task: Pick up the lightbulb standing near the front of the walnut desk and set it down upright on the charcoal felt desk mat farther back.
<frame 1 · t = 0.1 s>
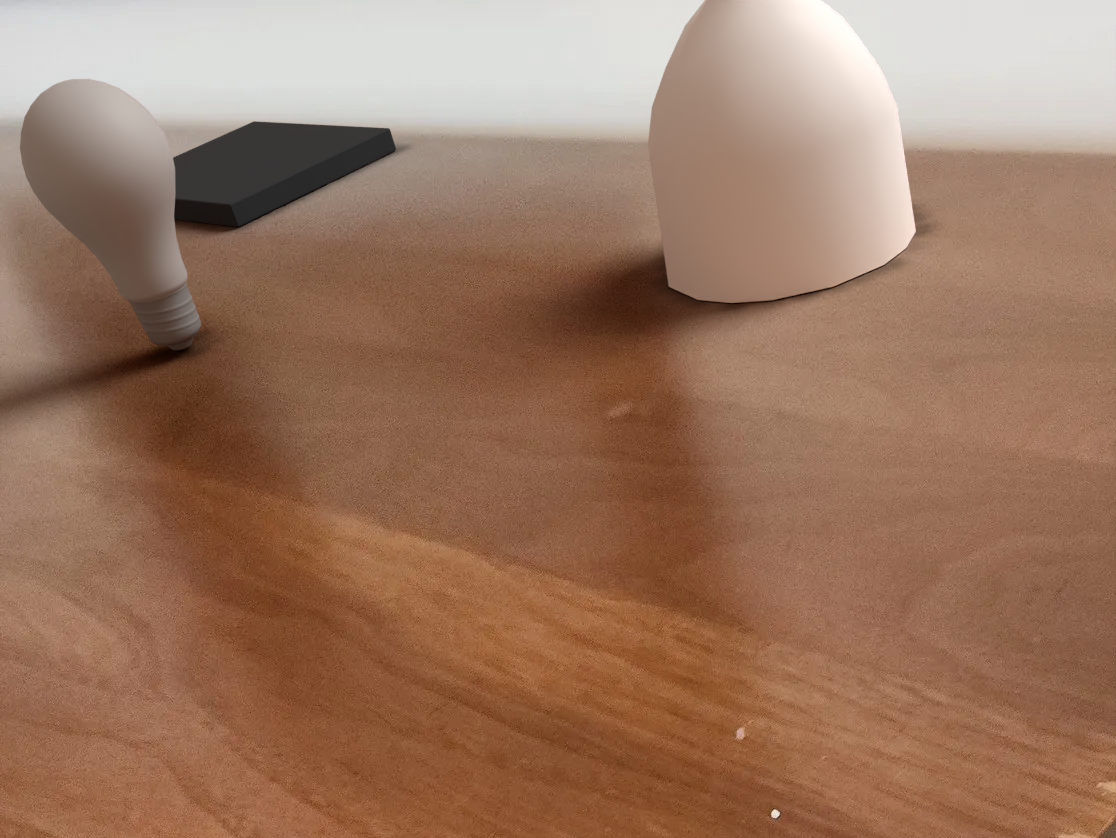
lightbulb: (185, 352, 68), on the table
teardrop: (789, 254, 62), on the table
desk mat: (251, 181, 87), on the table
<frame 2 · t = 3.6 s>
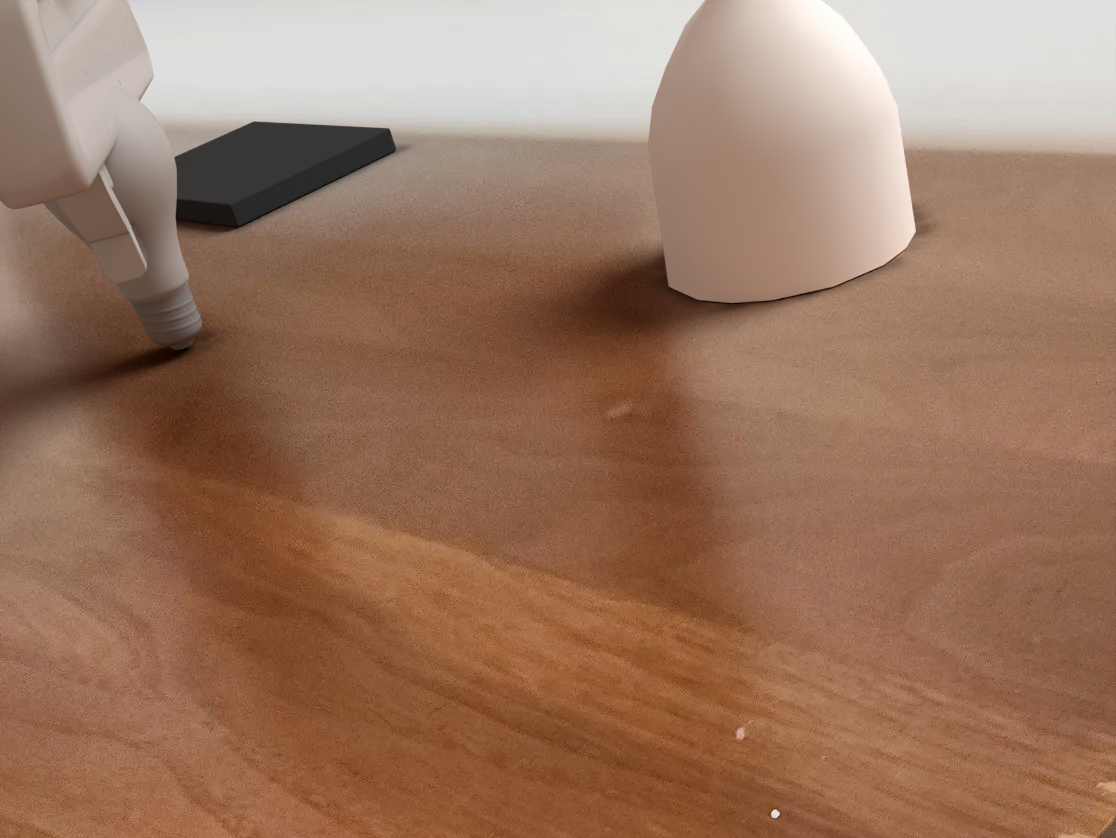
hand: (142, 253, 64), 4 cm above the table, tool pointing down, fingers closed on lightbulb, 5 cm apart
lightbulb: (185, 352, 68), on the table, touching gripper
everything else where it was.
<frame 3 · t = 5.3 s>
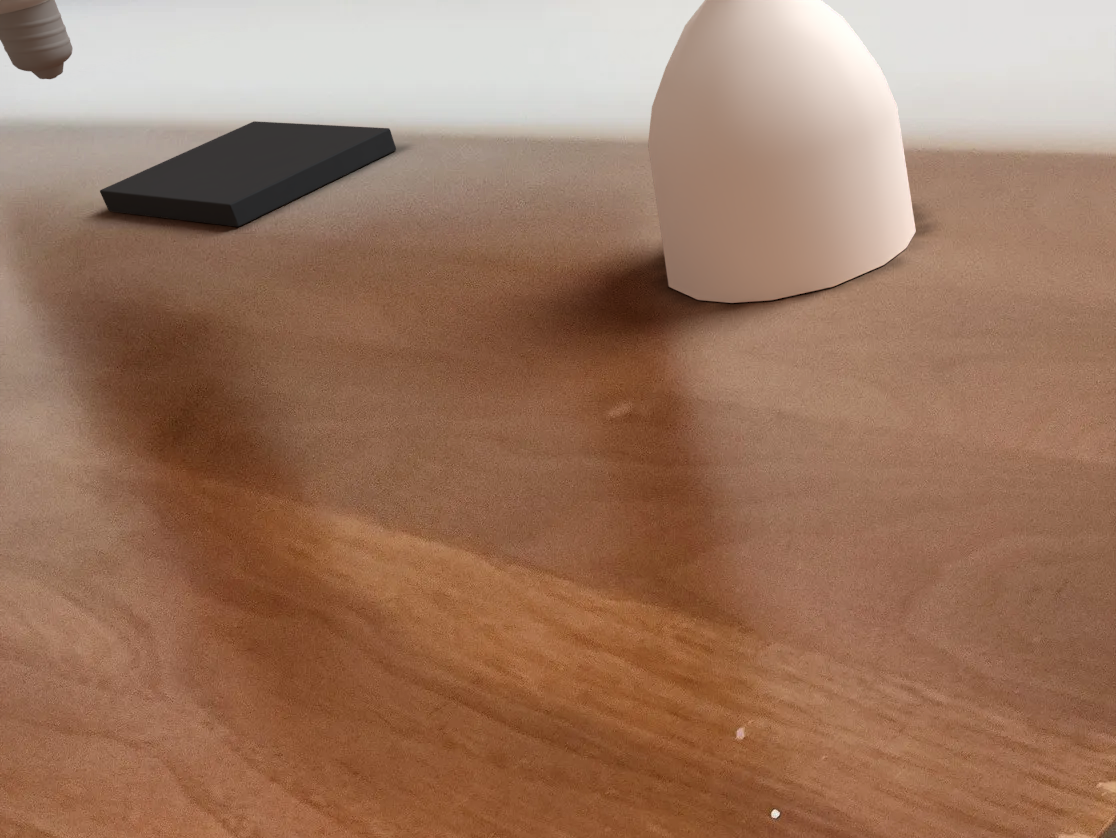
lightbulb: (54, 83, 60), point 11 cm above the table, touching gripper
everything else where it was.
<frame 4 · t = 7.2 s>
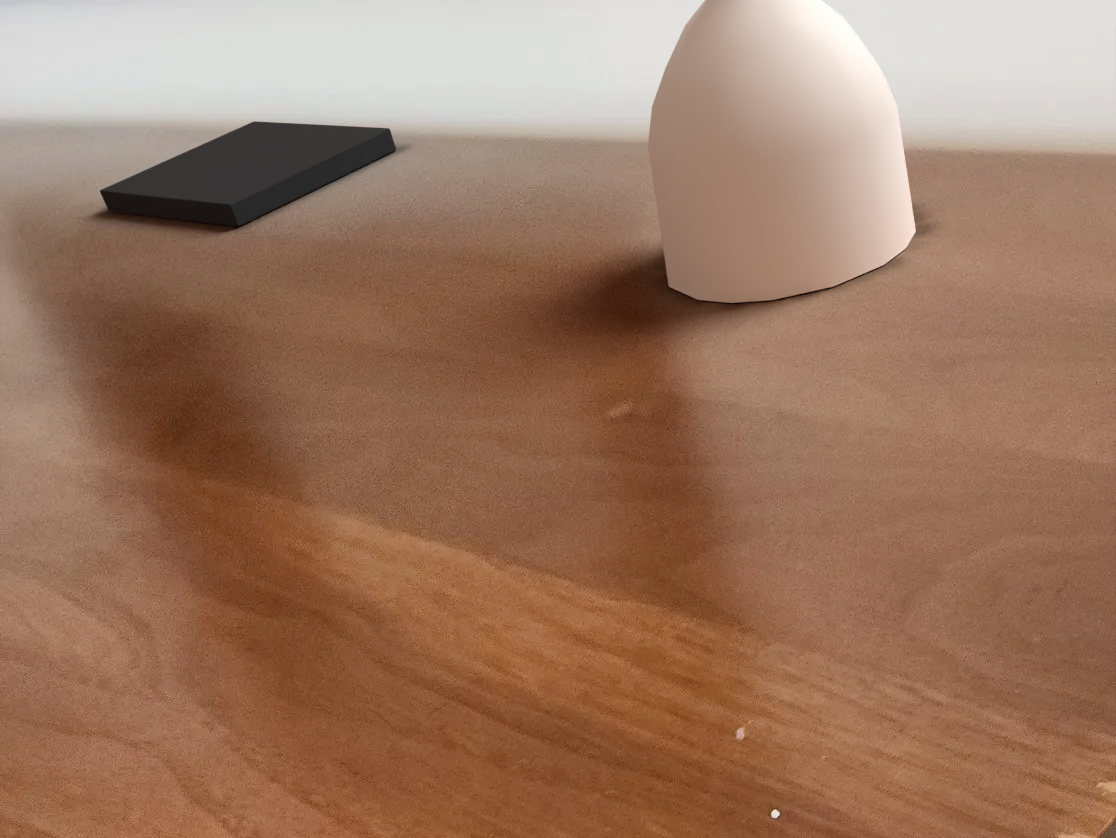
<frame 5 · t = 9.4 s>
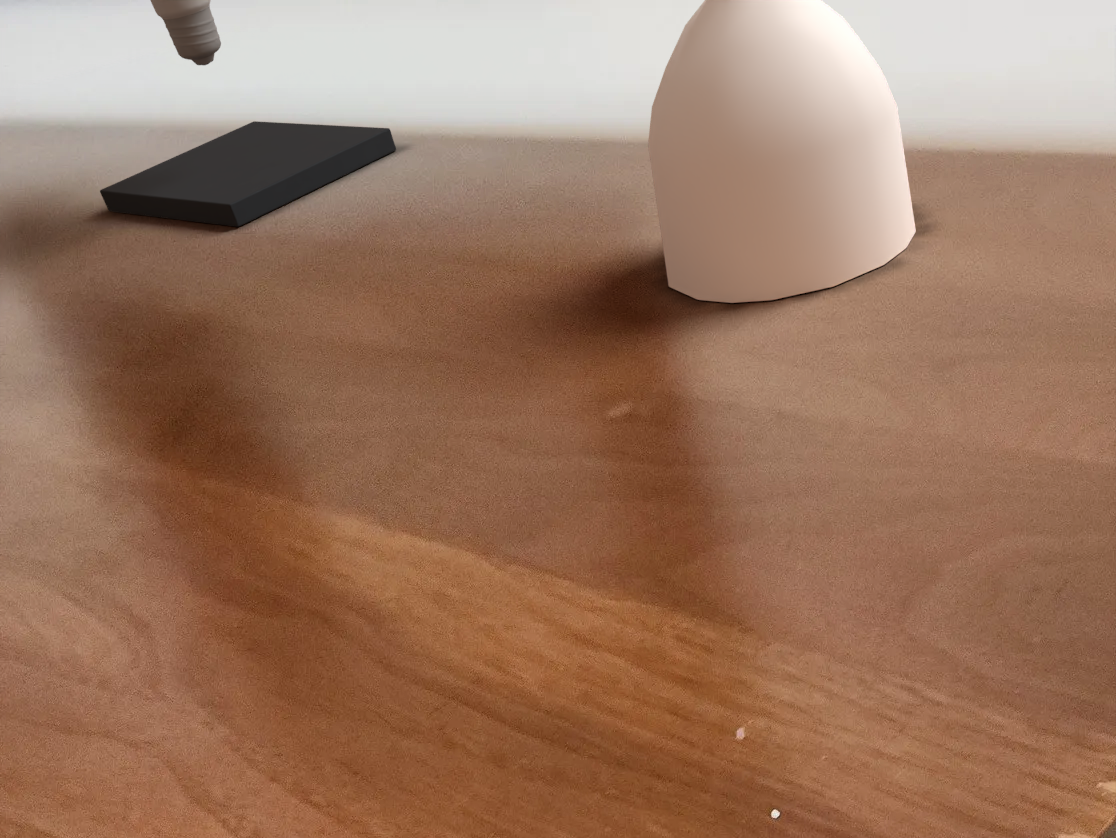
lightbulb: (207, 68, 83), point 6 cm above the table, touching gripper
everything else where it was.
when the fingers open (5 cm above the table, at t = 11.2 s): lightbulb stays where it is, resting on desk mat.
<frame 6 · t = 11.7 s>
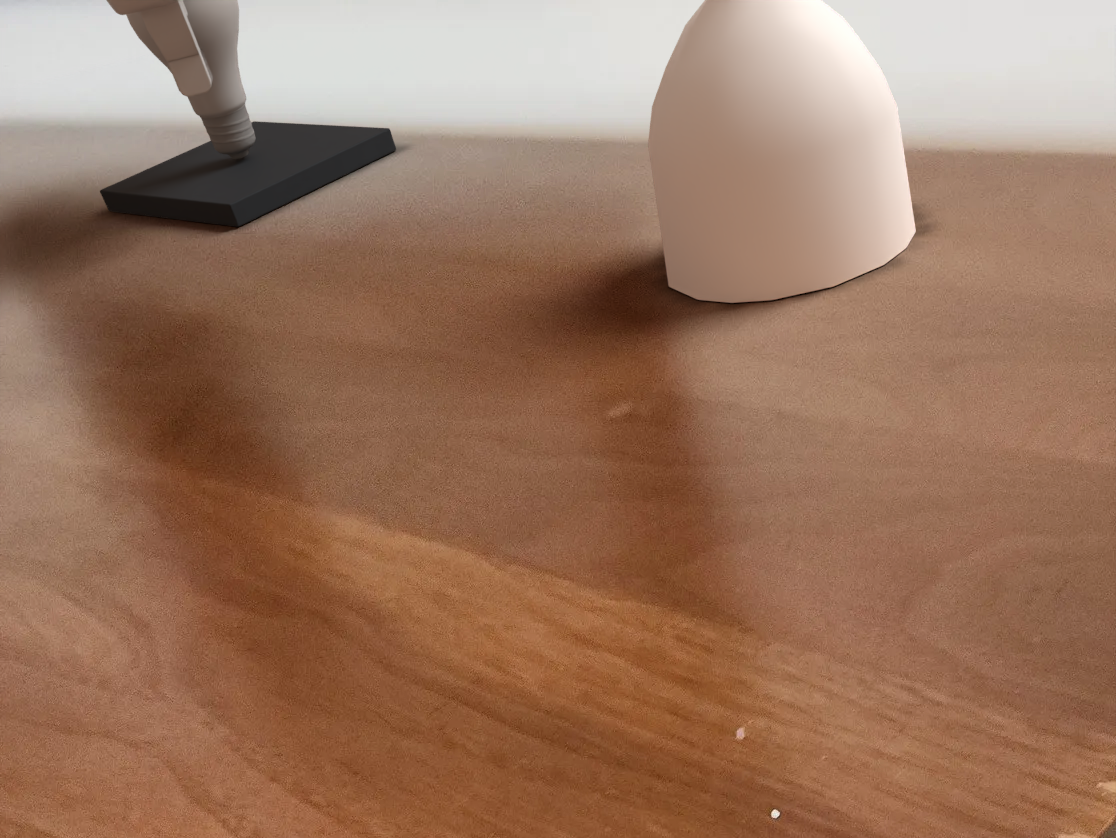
hand: (208, 72, 83), 6 cm above the table, tool pointing down, fingers open, 8 cm apart
lightbulb: (242, 161, 86), point 1 cm above the table, touching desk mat
everything else where it was.
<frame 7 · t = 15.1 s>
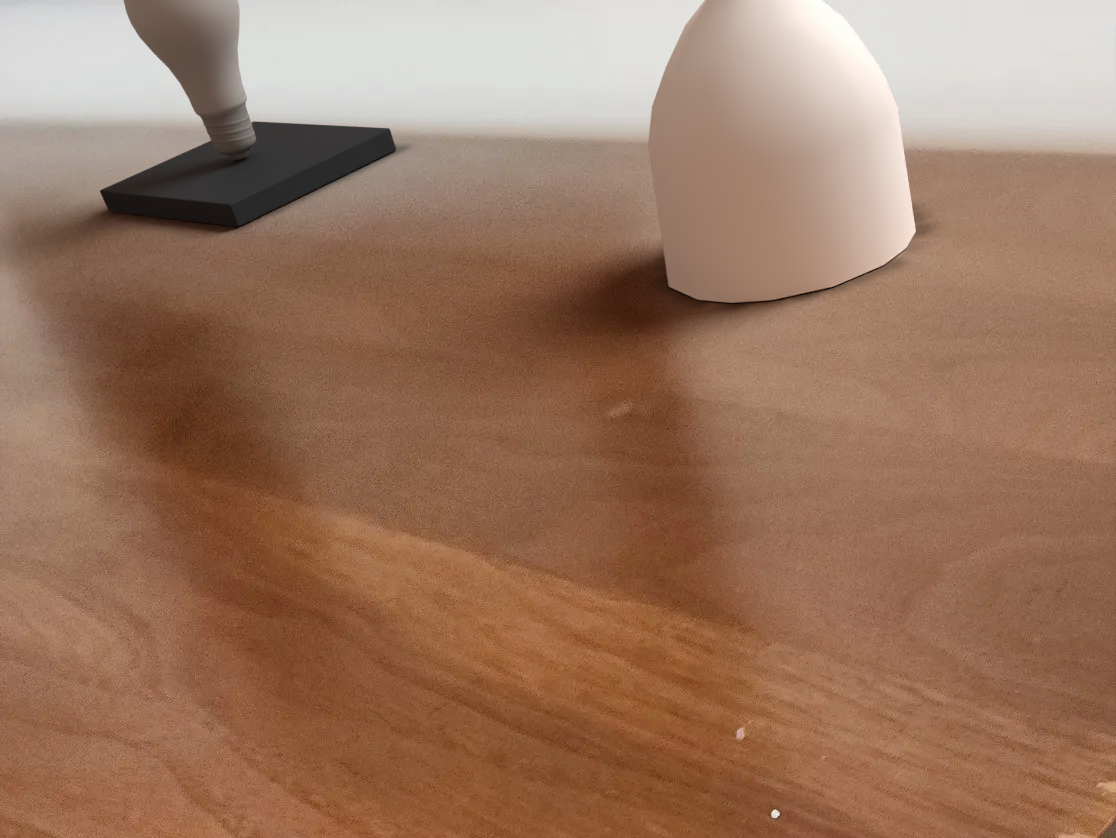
nothing on the table moved.
at the end: lightbulb inside the target area on the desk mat (0.2 cm from its centre), point 1.0 cm above the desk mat's base; lightbulb tilted 0°; the gripper is holding nothing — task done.
